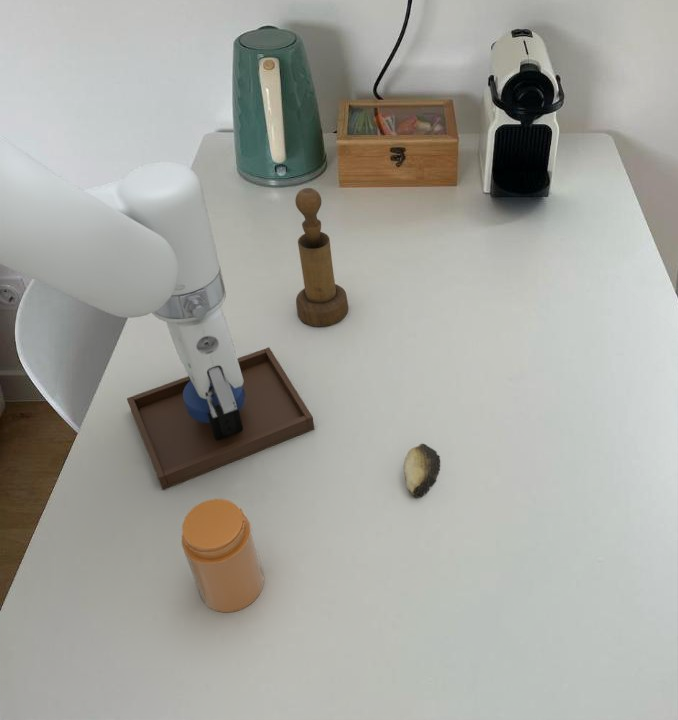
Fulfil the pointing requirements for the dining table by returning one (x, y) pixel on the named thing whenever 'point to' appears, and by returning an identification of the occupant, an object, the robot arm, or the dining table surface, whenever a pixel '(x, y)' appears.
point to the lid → (199, 405)
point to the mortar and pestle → (317, 268)
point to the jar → (222, 555)
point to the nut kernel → (421, 469)
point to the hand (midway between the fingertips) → (218, 413)
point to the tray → (195, 439)
